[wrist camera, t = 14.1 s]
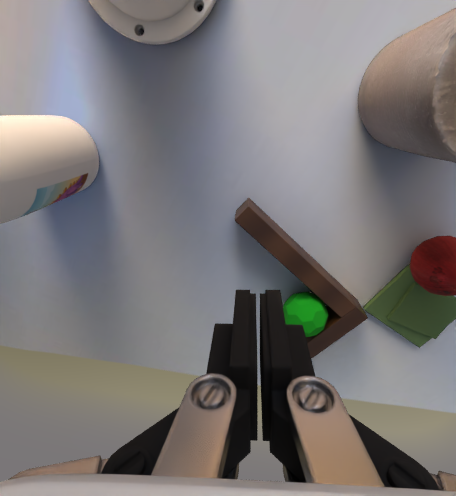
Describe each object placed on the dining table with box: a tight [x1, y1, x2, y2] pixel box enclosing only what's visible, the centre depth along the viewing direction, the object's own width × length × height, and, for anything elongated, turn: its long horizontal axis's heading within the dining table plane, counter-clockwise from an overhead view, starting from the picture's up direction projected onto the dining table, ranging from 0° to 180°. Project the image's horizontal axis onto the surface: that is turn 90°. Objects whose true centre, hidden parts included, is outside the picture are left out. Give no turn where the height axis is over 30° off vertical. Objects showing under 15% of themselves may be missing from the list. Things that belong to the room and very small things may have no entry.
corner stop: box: [235, 198, 368, 358], centre depth 36 cm, size 18×13×4 cm
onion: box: [410, 236, 456, 296], centre depth 31 cm, size 6×6×8 cm
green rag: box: [363, 264, 456, 348], centre depth 37 cm, size 9×7×1 cm
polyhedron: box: [283, 292, 328, 337], centre depth 36 cm, size 5×5×5 cm
